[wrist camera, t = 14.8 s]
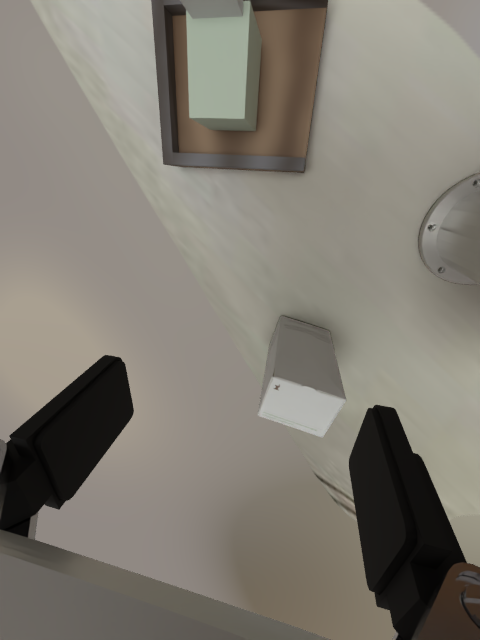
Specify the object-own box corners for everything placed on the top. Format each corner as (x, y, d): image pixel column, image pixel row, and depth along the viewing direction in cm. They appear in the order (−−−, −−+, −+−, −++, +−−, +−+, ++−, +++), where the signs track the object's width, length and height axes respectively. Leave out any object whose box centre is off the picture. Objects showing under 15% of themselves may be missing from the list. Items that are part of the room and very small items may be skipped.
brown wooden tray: (327, 7, 26) (331, -27, 22) (303, 172, 32) (303, 170, 28) (173, 16, 28) (150, -13, 24) (180, 166, 35) (163, 164, 31)
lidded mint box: (263, 45, 26) (238, -40, 16) (257, 133, 29) (233, 106, 19) (214, 46, 26) (161, -34, 17) (213, 131, 30) (169, 106, 20)
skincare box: (268, 345, 44) (252, 416, 31) (281, 311, 41) (269, 374, 27) (316, 362, 44) (322, 441, 30) (333, 329, 40) (348, 402, 27)
